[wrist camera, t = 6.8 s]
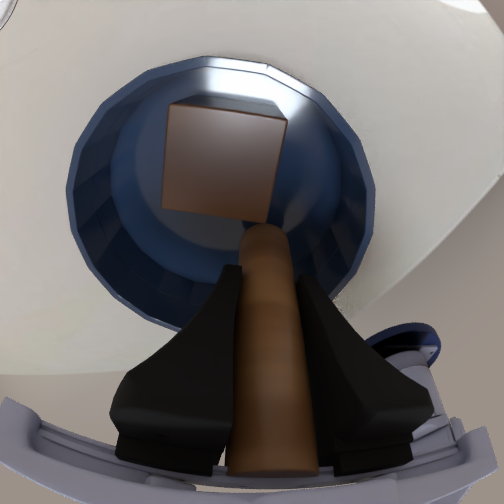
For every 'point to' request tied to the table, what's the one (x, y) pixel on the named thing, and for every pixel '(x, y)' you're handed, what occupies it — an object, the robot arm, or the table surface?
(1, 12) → the chess piece
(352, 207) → the bowl
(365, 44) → the table surface
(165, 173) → the block
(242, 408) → the rod
